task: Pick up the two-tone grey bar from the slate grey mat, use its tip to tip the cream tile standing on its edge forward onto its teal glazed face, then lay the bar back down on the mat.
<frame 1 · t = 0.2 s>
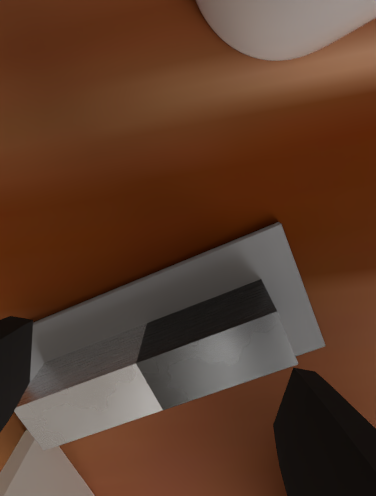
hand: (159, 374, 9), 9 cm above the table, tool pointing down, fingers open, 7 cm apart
two-tone grey bar: (158, 343, 19), resting on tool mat
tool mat: (159, 338, 19), on the table
tile: (63, 467, 23), on the table
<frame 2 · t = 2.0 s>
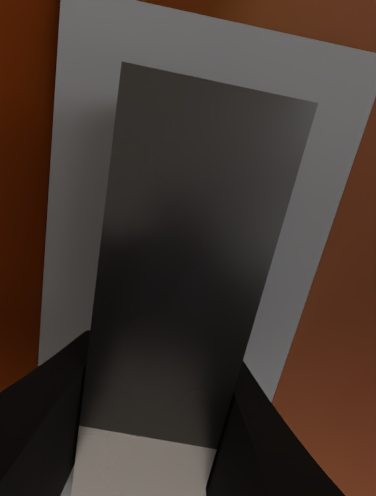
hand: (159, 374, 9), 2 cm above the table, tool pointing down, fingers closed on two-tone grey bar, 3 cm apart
two-tone grey bar: (164, 340, 10), resting on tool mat, touching gripper
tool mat: (165, 332, 11), on the table
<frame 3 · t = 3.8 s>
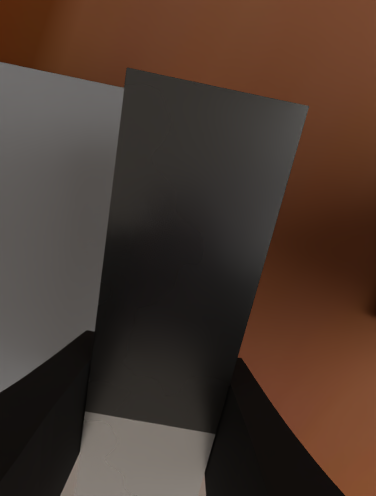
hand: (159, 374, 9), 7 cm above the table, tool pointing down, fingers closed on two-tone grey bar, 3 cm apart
two-tone grey bar: (165, 334, 11), point 5 cm above the table, touching gripper
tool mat: (32, 272, 16), on the table
tile: (139, 458, 19), on the table
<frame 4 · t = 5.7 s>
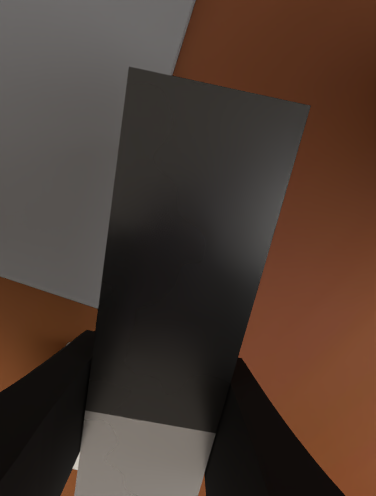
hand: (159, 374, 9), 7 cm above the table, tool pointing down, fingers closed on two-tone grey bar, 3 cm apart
two-tone grey bar: (165, 333, 11), point 5 cm above the table, touching gripper
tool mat: (64, 85, 13), on the table
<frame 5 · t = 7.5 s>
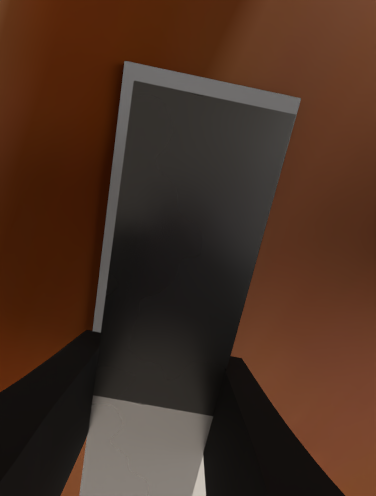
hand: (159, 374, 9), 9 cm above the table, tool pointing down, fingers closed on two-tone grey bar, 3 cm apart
two-tone grey bar: (166, 327, 11), point 6 cm above the table, touching gripper
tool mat: (177, 262, 17), on the table
when the fingers open (3 cm above the table, at t = 8.8 s): two-tone grey bar stays where it is, resting on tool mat.
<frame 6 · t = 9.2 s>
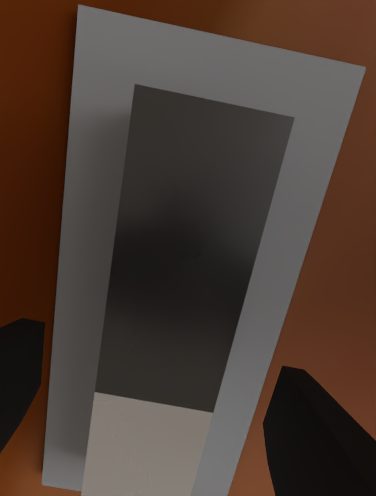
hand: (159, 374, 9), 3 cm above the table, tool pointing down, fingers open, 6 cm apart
two-tone grey bar: (167, 325, 11), resting on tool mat
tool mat: (168, 315, 12), on the table
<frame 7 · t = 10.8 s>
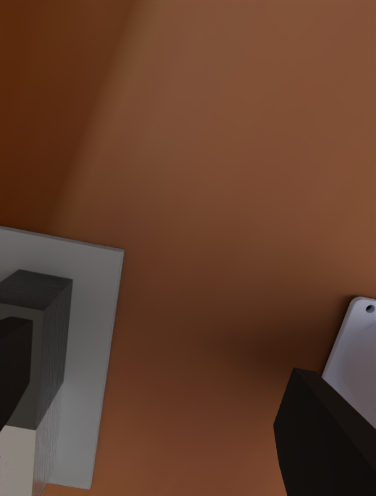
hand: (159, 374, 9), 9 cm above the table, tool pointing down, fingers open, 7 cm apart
two-tone grey bar: (39, 377, 20), resting on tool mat
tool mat: (43, 370, 20), on the table
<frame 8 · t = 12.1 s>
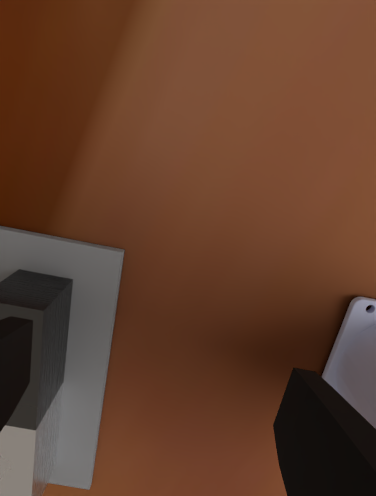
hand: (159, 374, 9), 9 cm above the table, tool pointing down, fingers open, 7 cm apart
two-tone grey bar: (39, 377, 20), resting on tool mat
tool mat: (43, 370, 20), on the table
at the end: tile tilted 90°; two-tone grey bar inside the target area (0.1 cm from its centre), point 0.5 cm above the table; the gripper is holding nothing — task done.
